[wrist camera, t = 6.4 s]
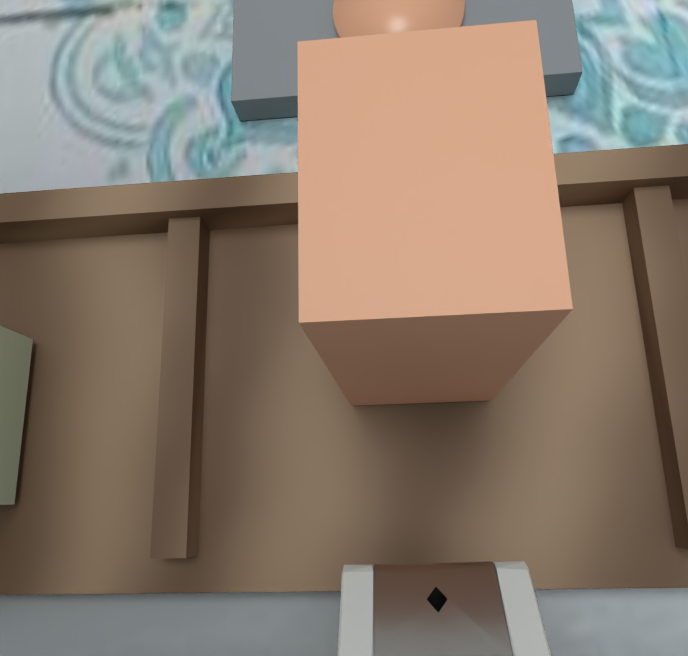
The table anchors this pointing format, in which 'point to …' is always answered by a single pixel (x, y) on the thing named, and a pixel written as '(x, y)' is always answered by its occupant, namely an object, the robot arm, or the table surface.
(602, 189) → the key base
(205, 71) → the table surface
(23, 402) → the light green rectangular block
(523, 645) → the robot arm
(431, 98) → the orange rectangular block
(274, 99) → the orange button
